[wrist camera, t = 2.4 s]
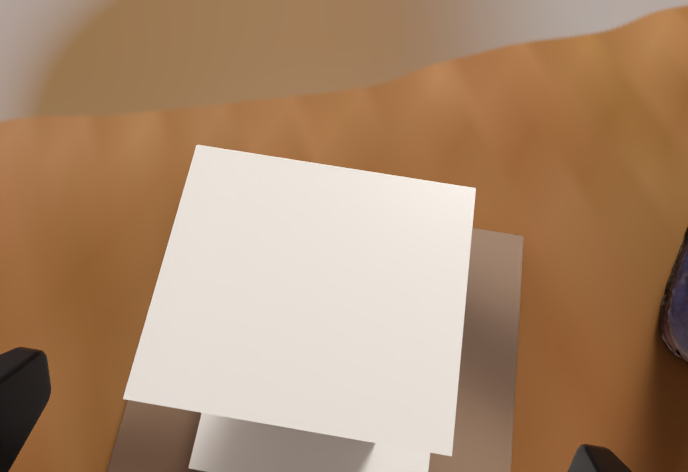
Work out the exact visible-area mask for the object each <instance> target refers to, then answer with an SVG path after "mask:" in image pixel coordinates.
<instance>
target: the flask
mask: <svg viewBox="0 0 688 472" xmlns="http://www.w3.org/2000/svg"><path fill="white" fill-rule="evenodd" d="M671 275H672V276H671V277H670V280H668V282H669V283H668V284H667V290H666V294H664V295H665V296H664V297H663V300H662V304H661V306H662V309H661V314H662V315H661V320H660V321H661V323H660V329H661V330H662V336H661V338H662V339H663V340H664V341H665V343H666V344H667V346H668V348H669V349H670V350H671V351H672V352H673V353H674V354H675V355H676V356H678V357H681V356H682V357H683V358H684V360H685V361H686V362H688V234H687V236H686V239H685V242H684V243H683V245H682V246H681V250H680V252H679V257H677V261H676V264H675V265H674V267H673V274H671ZM676 349H677V350H678V351H679V353H680V355H681V356H680V355H678V354H677V352H676ZM682 357H681V358H682ZM683 358H682V359H683Z"/></svg>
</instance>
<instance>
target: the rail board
mask: <svg viewBox="0 0 688 472" xmlns="http://www.w3.org/2000/svg"><path fill="white" fill-rule="evenodd" d="M523 237H524V236H519V235H513V234H506V233H500V232H494V231H487V230H481V229H475V228H472V237H471V248H470V259H469V270H468V282H467V293H466V304H465V315H464V326H463V338H462V349H461V360H460V371H459V382H458V394H457V405H456V416H455V427H454V438H453V450H452V456H447V455H441V454H435V453H430V460H429V470H428V472H511V457H512V439H513V420H514V402H515V384H516V365H517V347H518V329H519V310H520V292H521V274H522V255H523ZM200 418H201V413H200V412H195V411H189V410H183V409H178V408H172V407H166V406H160V405H155V404H149V403H143V402H138V401H132V400H128V401H127V404H126V408H125V411H124V415H123V418H122V422H121V425H120V429H119V432H118V436H117V439H116V443H115V446H114V450H113V453H112V457H111V460H110V464H109V467H108V471H107V472H206V471H200V470H195V469H189V468H188V467H189V463H190V459H191V455H192V451H193V447H194V442H195V438H196V434H197V430H198V426H199V422H200Z"/></svg>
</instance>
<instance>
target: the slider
mask: <svg viewBox="0 0 688 472" xmlns="http://www.w3.org/2000/svg"><path fill="white" fill-rule="evenodd" d="M475 192H476V188H471V187H465V186H458V185H452V184H446V183H439V182H433V181H426V180H420V179H414V178H407V177H401V176H394V175H388V174H382V173H375V172H369V171H362V170H356V169H350V168H343V167H337V166H330V165H324V164H318V163H311V162H305V161H298V160H292V159H286V158H279V157H273V156H266V155H260V154H254V153H247V152H241V151H234V150H228V149H222V148H215V147H209V146H202V145H197V146H196V149H195V153H194V156H193V159H192V163H191V166H190V170H189V173H188V177H187V180H186V183H185V187H184V190H183V194H182V197H181V201H180V204H179V208H178V211H177V214H176V218H175V221H174V225H173V228H172V232H171V235H170V239H169V242H168V245H167V249H166V252H165V256H164V259H163V263H162V266H161V269H160V273H159V276H158V280H157V283H156V287H155V290H154V294H153V297H152V300H151V304H150V307H149V311H148V314H147V318H146V321H145V325H144V328H143V331H142V335H141V338H140V342H139V345H138V349H137V352H136V355H135V359H134V362H133V366H132V369H131V373H130V376H129V380H128V383H127V386H126V390H125V393H124V397H123V399H126V400H132V401H138V402H143V403H149V404H155V405H160V406H166V407H172V408H178V409H183V410H189V411H195V412H200V413H201V418H200V422H199V426H198V430H197V434H196V438H195V442H194V447H193V451H192V455H191V459H190V463H189V467H188V468H189V469H195V470H200V471H206V472H428V470H429V460H430V453H435V454H441V455H447V456H452V450H453V438H454V427H455V416H456V405H457V394H458V382H459V371H460V360H461V349H462V338H463V326H464V315H465V304H466V293H467V282H468V270H469V259H470V248H471V237H472V225H473V214H474V203H475Z"/></svg>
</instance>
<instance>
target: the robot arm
mask: <svg viewBox="0 0 688 472" xmlns="http://www.w3.org/2000/svg"><path fill="white" fill-rule="evenodd" d="M50 393H51V383H50V376H49V369H48V362H47V356H46V354H45V353H44V352H43V351H41V350H37V349H31V348H25V347H18V348H15V349H13V350H10V351H8V352H6V353H3V354H1V355H0V472H8V471H9V470H10V468H11V466H12V464H13V463H14V461H15V459H16V457H17V455H18V454H19V452H20V450H21V448H22V447H23V445H24V443H25V441H26V440H27V438H28V436H29V434H30V433H31V431H32V429H33V427H34V425H35V424H36V422H37V420H38V418H39V417H40V415H41V413H42V411H43V410H44V408H45V406H46V404H47V402H48V400H49V397H50ZM568 472H632V471H631V470H630V469H629V468H628V467H627V466H626V465H625V464H624V463H623V462H622V461H621V460H620V459H619V458H618V457H617V456H616V455H615V454H614V453H613V452H611V451H610V450H609V449H607V448H605V447H600V446H594V445H588V444H583V445H581V446H580V447H579V448H578V449H577V451H576V454H575V456H574V458H573V460H572V463H571V465H570V467H569V470H568Z"/></svg>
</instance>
